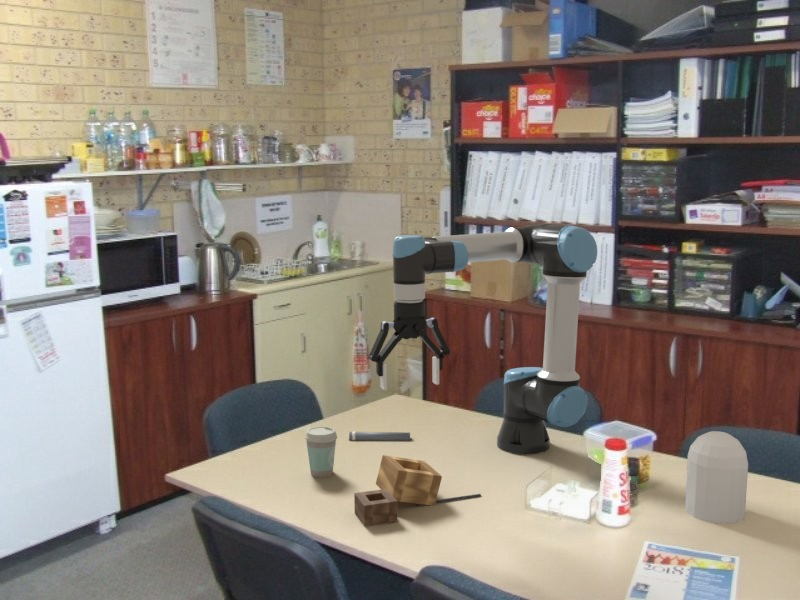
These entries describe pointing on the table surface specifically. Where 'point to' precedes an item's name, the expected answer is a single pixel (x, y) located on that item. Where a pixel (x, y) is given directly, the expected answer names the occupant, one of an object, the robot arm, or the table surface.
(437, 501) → the grey long thin rod
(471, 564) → the table surface
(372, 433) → the gray tube
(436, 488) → the light wooden square box
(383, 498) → the bead dark
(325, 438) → the coffee cup
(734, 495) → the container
